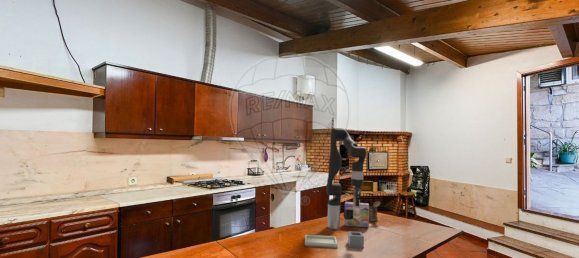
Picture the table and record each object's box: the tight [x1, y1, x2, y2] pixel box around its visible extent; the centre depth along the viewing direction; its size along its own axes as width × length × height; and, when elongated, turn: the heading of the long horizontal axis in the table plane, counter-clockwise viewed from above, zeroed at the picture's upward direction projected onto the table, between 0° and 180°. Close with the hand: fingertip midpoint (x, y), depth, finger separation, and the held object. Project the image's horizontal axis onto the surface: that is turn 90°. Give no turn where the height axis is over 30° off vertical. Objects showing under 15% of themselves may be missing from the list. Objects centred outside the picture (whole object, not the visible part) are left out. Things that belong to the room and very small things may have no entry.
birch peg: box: [352, 195, 361, 218], centre depth 188 cm, size 4×4×13 cm
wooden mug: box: [369, 200, 381, 223], centre depth 245 cm, size 9×14×18 cm, turn 13°
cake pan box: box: [343, 201, 370, 228], centre depth 229 cm, size 19×5×18 cm, turn 73°
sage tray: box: [304, 234, 338, 249], centre depth 188 cm, size 14×20×2 cm
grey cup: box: [347, 230, 365, 249], centre depth 187 cm, size 9×9×7 cm
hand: (356, 205), depth 188 cm, fingers closed on birch peg, 4 cm apart
